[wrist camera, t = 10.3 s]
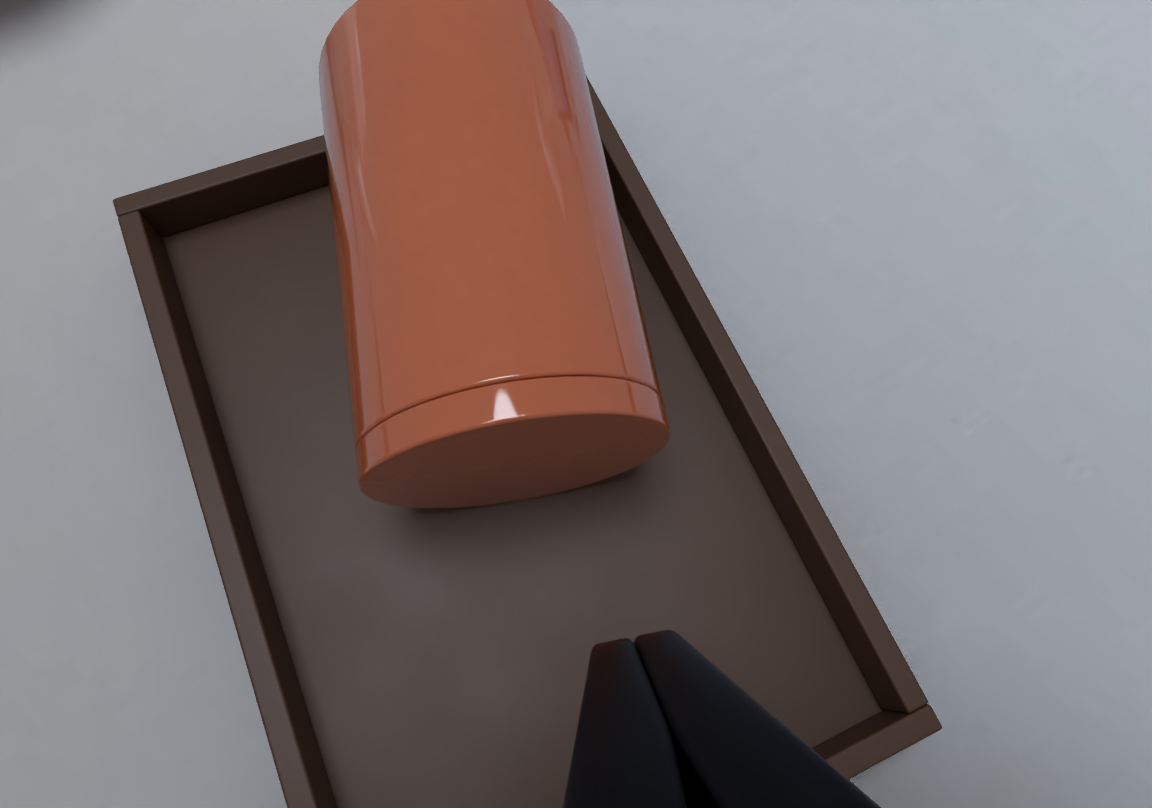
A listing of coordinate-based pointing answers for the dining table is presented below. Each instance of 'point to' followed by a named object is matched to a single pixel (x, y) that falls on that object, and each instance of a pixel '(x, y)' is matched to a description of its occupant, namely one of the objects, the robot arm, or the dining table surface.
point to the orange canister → (480, 258)
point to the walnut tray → (483, 525)
